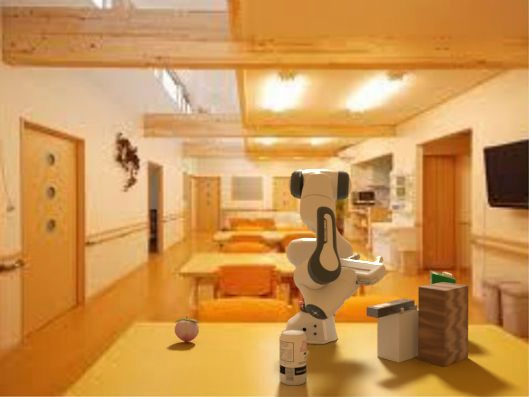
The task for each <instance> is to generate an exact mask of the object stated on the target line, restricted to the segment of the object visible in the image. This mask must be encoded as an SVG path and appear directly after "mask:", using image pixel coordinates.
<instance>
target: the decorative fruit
mask: <svg viewBox="0 0 529 397" xmlns="http://www.w3.org/2000/svg"><path fill="white" fill-rule="evenodd" d="M174 323H175V326H174V334H175V335H176V337H177V338H178V339H179V340H181V341H182V342H185V343H190V342H191V341H193V340H194V339H196V338H197V337H198V334H199V332H200V330H199V328H200V326H199V322H198V321H197V319H196V318H195V319H194V318H188V316H186V317H185V318H179V319H177V320H175V321H174Z"/></svg>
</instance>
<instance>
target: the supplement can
mask: <svg viewBox="0 0 529 397" xmlns="http://www.w3.org/2000/svg"><path fill="white" fill-rule="evenodd" d="M280 334H281V335H279V381H280V382H281V383H282V384H283V385H288V386H299V385H303V384H305V382H306V381H307V379H308V378H307V363H308V362H307V356H308V354H307V351H308V350H307V345H308V343H307V337H306V335H305V333H304V331H301V330H294V329H292V330H286V329H284V330H281V332H280Z"/></svg>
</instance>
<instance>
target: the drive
mask: <svg viewBox="0 0 529 397" xmlns="http://www.w3.org/2000/svg"><path fill="white" fill-rule="evenodd" d="M414 305H416V304H415V299H411V298H410V299H409V298H406V297H405V298H403V297H402V298H399V299H395V300H391V301H387V302H383V303H378V304H372V305H369V306H367V307H366V317H369V318H370V317H371V318H374V319H377V318H380V317H384V316H388V315H392V314H396V313H399V312H401V308H404V311H407V310H411V309H414Z"/></svg>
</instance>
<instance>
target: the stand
mask: <svg viewBox="0 0 529 397" xmlns="http://www.w3.org/2000/svg"><path fill="white" fill-rule="evenodd" d="M417 292H418V293H417V294H418V303H417V308H418V356H417V360H418V361H421V362H425V363H429V364H432V365H436V366H440V367H443V368H445V367H448V366H449V365H453V364H455V363H457V362H460V361H463V360H465V359H469V285H467V284H466V285H465V284H458V283H456V284H453V283H446V282H440V283H435V284H430V283H429V284H426V285H421V286H418V291H417Z"/></svg>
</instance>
